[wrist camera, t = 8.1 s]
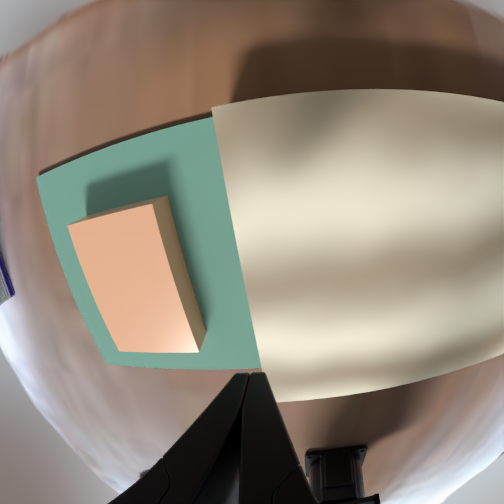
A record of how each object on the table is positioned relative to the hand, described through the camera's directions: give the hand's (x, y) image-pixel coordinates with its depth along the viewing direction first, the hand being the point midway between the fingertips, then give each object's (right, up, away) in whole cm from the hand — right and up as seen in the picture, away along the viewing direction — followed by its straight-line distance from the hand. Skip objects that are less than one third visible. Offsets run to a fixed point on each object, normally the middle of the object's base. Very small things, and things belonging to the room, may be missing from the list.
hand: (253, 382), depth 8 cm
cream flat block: (+10, +4, +7) cm, 13 cm away
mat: (-7, +2, +10) cm, 12 cm away
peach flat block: (-7, +1, +8) cm, 10 cm away
